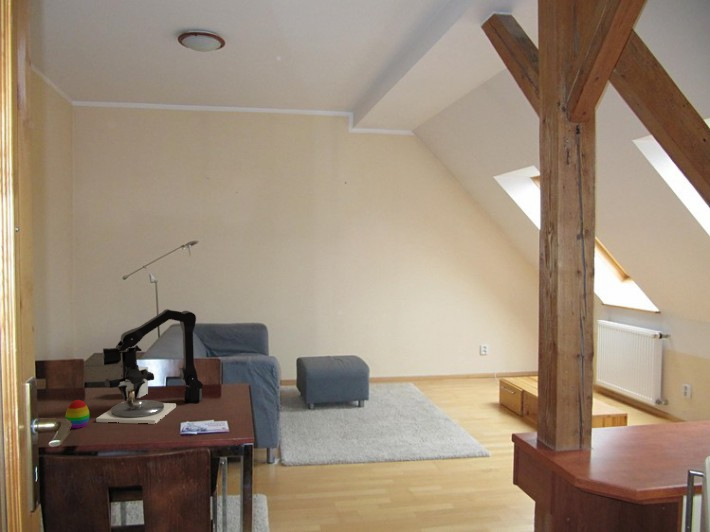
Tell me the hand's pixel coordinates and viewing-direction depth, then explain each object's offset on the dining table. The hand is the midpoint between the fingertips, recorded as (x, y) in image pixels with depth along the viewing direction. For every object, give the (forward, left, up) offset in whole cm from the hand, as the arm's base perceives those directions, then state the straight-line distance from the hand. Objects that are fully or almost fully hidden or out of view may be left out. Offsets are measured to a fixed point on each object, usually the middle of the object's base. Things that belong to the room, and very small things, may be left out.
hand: (130, 399), depth 242 cm
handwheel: (-6, +6, -2) cm, 9 cm away
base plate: (-6, +7, -4) cm, 10 cm away
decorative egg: (+10, +24, -4) cm, 26 cm away
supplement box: (+6, -20, -4) cm, 22 cm away
